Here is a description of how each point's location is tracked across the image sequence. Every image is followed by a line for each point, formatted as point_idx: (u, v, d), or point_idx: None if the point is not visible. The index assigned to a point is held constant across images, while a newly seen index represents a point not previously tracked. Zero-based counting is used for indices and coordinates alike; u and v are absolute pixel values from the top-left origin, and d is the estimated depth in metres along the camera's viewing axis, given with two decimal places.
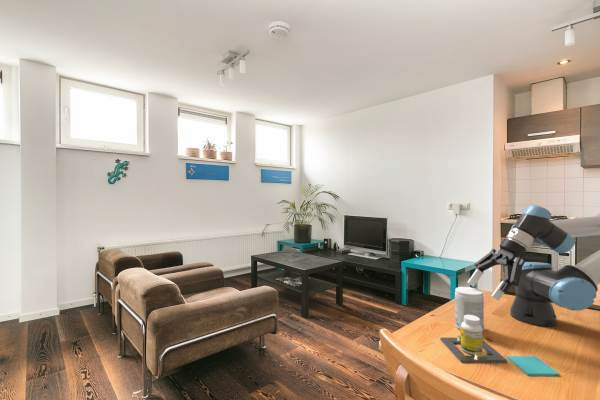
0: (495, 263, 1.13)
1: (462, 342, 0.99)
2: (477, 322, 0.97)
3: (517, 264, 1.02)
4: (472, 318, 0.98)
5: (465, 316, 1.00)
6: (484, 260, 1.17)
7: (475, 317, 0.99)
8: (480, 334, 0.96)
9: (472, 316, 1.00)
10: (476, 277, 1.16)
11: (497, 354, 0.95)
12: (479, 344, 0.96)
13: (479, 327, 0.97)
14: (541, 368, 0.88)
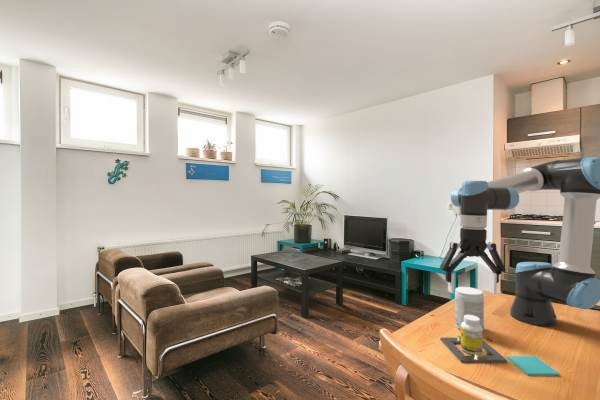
0: None
1: (462, 342, 0.99)
2: (477, 322, 0.97)
3: None
4: (472, 318, 0.98)
5: (465, 316, 1.00)
6: None
7: (475, 317, 0.99)
8: (480, 334, 0.96)
9: (472, 316, 1.00)
10: None
11: (497, 354, 0.95)
12: (479, 344, 0.96)
13: (479, 327, 0.97)
14: (541, 368, 0.88)
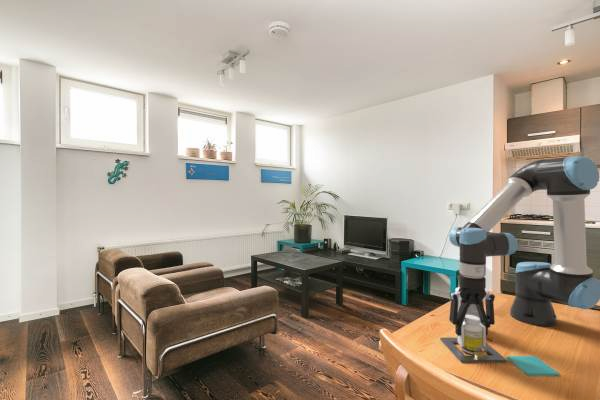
0: None
1: None
2: (477, 322, 0.97)
3: None
4: (472, 318, 0.98)
5: (465, 316, 1.00)
6: None
7: (475, 317, 0.99)
8: (480, 334, 0.96)
9: (472, 316, 1.00)
10: None
11: (497, 354, 0.95)
12: (479, 344, 0.96)
13: (479, 327, 0.97)
14: (541, 368, 0.88)
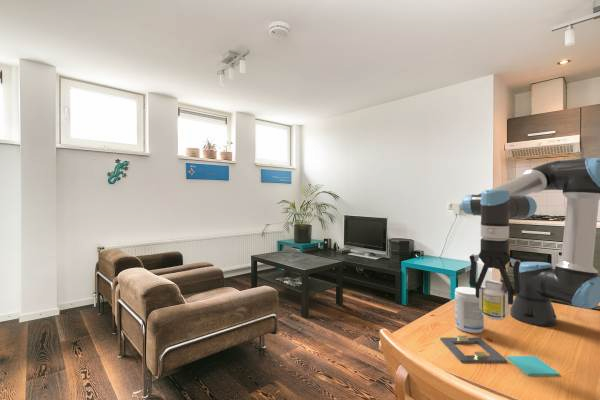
0: (487, 269, 0.97)
1: None
2: (495, 286, 0.93)
3: (518, 270, 0.90)
4: (494, 282, 0.95)
5: (488, 280, 0.97)
6: (474, 272, 0.98)
7: (498, 282, 0.95)
8: (497, 298, 0.92)
9: (497, 282, 0.95)
10: None
11: (497, 354, 0.95)
12: (496, 309, 0.92)
13: (497, 292, 0.93)
14: (541, 368, 0.88)
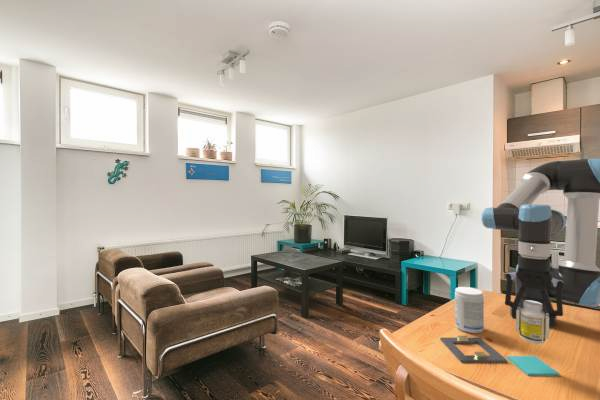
0: None
1: None
2: (535, 307, 0.87)
3: (561, 291, 0.85)
4: (533, 303, 0.89)
5: (526, 300, 0.91)
6: (511, 292, 0.92)
7: (537, 303, 0.89)
8: (538, 321, 0.86)
9: (535, 302, 0.90)
10: (519, 318, 0.92)
11: (497, 354, 0.95)
12: (536, 331, 0.87)
13: (538, 313, 0.87)
14: (541, 368, 0.88)
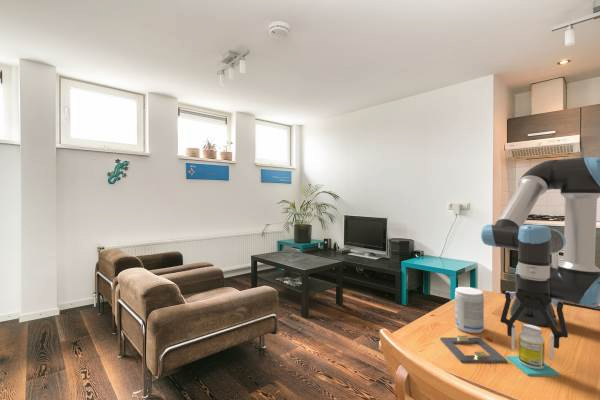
0: None
1: None
2: (534, 333, 0.88)
3: (562, 311, 0.85)
4: (532, 328, 0.90)
5: (525, 325, 0.92)
6: None
7: (536, 328, 0.89)
8: (537, 346, 0.87)
9: (534, 327, 0.90)
10: None
11: (497, 354, 0.95)
12: (535, 357, 0.87)
13: (536, 339, 0.87)
14: None
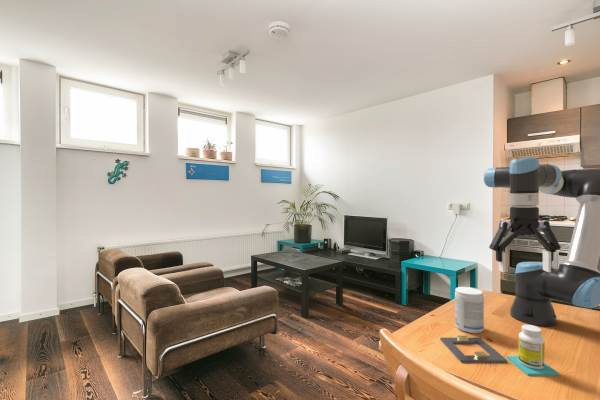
0: None
1: None
2: (534, 333, 0.88)
3: None
4: (532, 328, 0.89)
5: (525, 325, 0.92)
6: None
7: (536, 328, 0.89)
8: (537, 346, 0.87)
9: (534, 327, 0.90)
10: None
11: (497, 354, 0.95)
12: (535, 357, 0.87)
13: (536, 339, 0.87)
14: None
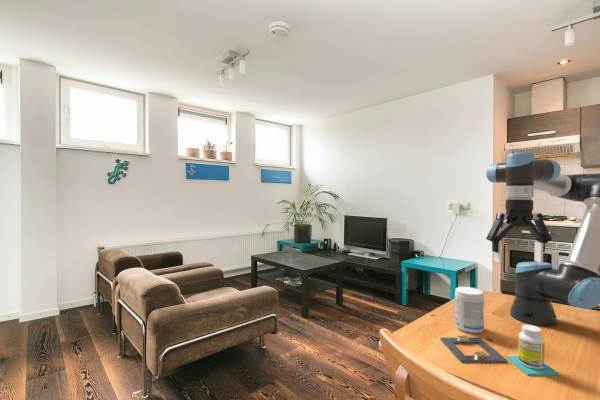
0: None
1: None
2: (534, 333, 0.88)
3: None
4: (532, 328, 0.89)
5: (525, 325, 0.92)
6: None
7: (536, 328, 0.89)
8: (537, 346, 0.87)
9: (534, 327, 0.90)
10: None
11: (497, 354, 0.95)
12: (535, 357, 0.87)
13: (536, 339, 0.87)
14: None
